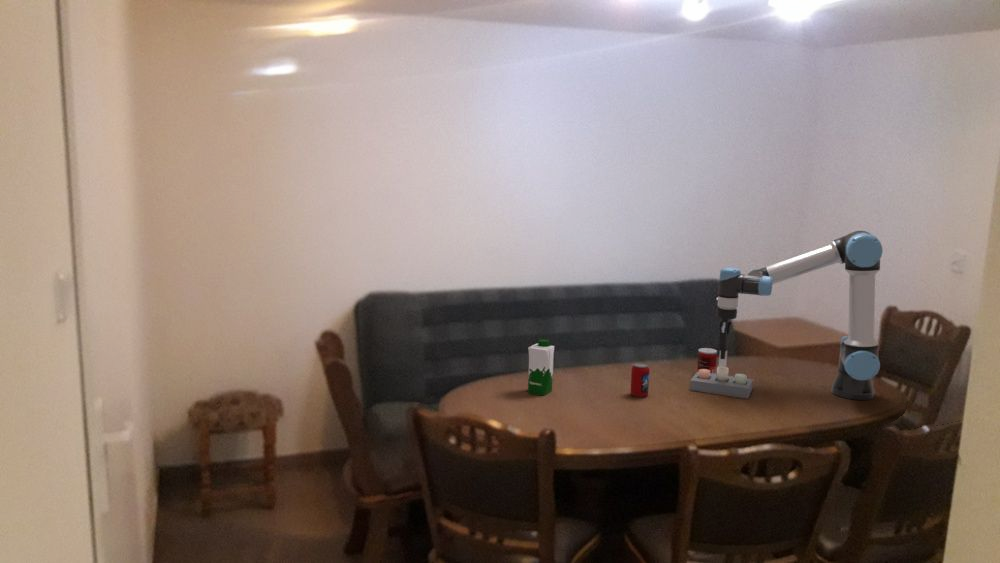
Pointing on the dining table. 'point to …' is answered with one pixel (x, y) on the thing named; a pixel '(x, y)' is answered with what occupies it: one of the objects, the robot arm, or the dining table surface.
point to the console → (721, 386)
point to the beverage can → (640, 380)
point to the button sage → (740, 379)
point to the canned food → (707, 359)
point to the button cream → (722, 374)
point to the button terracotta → (704, 374)
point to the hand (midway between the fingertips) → (722, 366)
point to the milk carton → (540, 368)
